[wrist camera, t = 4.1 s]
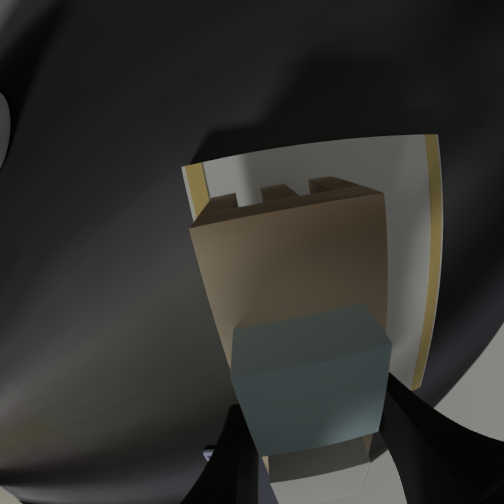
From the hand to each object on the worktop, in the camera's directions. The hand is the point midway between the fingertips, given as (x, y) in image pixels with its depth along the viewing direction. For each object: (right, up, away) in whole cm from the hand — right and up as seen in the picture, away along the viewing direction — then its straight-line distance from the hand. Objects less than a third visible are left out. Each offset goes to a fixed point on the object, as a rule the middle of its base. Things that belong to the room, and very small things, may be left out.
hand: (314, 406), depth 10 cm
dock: (+3, +3, +8) cm, 9 cm away
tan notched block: (0, +1, +4) cm, 4 cm away
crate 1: (-1, +3, -2) cm, 3 cm away
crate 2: (0, -3, 0) cm, 3 cm away
